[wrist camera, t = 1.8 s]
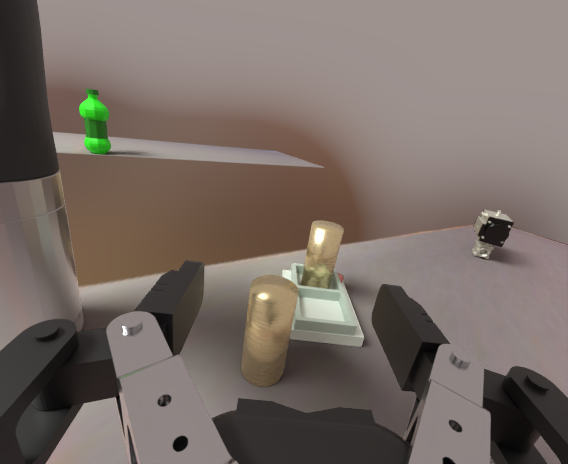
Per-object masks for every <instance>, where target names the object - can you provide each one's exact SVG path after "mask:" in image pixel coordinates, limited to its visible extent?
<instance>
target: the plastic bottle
mask: <svg viewBox="0 0 568 464" xmlns="http://www.w3.org/2000/svg"><path fill="white" fill-rule="evenodd" d="M86 93H87V94H88V99H87V100H85V101H84V102H83V103H82V104H81V105H80V107H79V111H80V114H81V116H82V117H83V118H84V121H85V129H86V138H85V141H84V143H85V146H86V148H87V149H88V150H89V151H91V152H92V153H95V154H106V152H108V151H109V150H110V148H111V144H110V141H109V140H108V136H107V126H106V121H107V119H108V118H109V112H108V110H107V108H106V107H105V106H104V105H103V104H102V103H101V102H100V101H99V100H98V99H97V95H99V94H98V90H92V89H86Z"/></svg>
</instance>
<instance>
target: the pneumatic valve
mask: <svg viewBox="0 0 568 464" xmlns="http://www.w3.org/2000/svg"><path fill="white" fill-rule="evenodd" d="M512 225H513V221H512V220H511V219H510V218H509V217H508V216H507V215H506V214H503V213H501V211H499V210H498V211H497V212H494V211H490V210H485V209H484V210H483V212H481V216H478V217H477V219H476V221H475V224H474V226H473V227H474V229H475V230H474V232H475V234H476V236H477V238H478V240H476V241H475V242H476V244H475V245H474V248H473V249H472V253H473V255H474V256H479V257H484V258H485V259H489V255H490V253H491V250H493V249H494V248H493V246H492V245H495V246H499V247H502V246H503V244H504V242H505V240H506V239H507V238H508V236H509V232H510V230H511V228H512ZM491 244H492V245H491Z"/></svg>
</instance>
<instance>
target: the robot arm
mask: <svg viewBox="0 0 568 464" xmlns="http://www.w3.org/2000/svg"><path fill="white" fill-rule="evenodd" d="M203 290H204V263H203V262H195V261H187V260H186V261H185V262H184V264H183V265H182V266H181V268H180V269H179V271H175V270H171V271H169V272H167V273H166V274H164V275H162V276H161V277H160V279H159V280H158V281H157V282H156V285H154V286H153V288H152V289H151V291H149V293H148V294H147V295H146V296H145V298H144V299H143V300H142V302H141V303H140V304H139V305H138V307H137V308H136V309H135V311H134V312H129V313H126V314H123V315H120V316H119V317H117V318H115V319H114V320H113V321H111V322H110V324H109V325H108V327H107V328H103V329H95V330H87V331H81V330H82V327H83V323H84V319H83V313H82V306H81V300H80V294H79V287H78V281H77V275H76V269H75V262H74V256H73V250H72V244H71V238H70V232H69V225H68V219H67V213H66V207H65V201H64V196H63V189H62V183H61V177H60V171H59V164H58V159H57V153H56V148H55V143H54V138H53V133H52V127H51V121H50V114H49V108H48V99H47V90H46V81H45V71H44V60H43V49H42V39H41V28H40V21H39V12H38V5H37V0H0V464H45V463H46V462H47V460H48V459H49V457H50V456H51V454H52V452H53V451H54V449H55V448H56V446H57V445H58V443H59V441H60V440H61V438H62V437H63V435H64V434H65V432H66V430H67V429H68V427H69V426H70V424H71V423H72V421H73V419H74V418H75V416H76V415H77V413H78V412H79V410H80V408H81V407H82V405H83V404H84V403H87V402H92V401H97V400H102V399H107V398H112V397H115V401H116V406H117V411H118V415H119V420H120V425H121V429H122V434H123V439H124V443H125V448H126V454H127V460H128V464H490V455H491V457H492V459H493V461H494V462H495V464H547V463H546V461H545V460H544V459H543V457H542V456H541V454H540V453H539V452H538V450H537V449H536V448H535V446H534V443H535V442H536V441H537V439H538V438H539V437H540V435H541V436H542V437H543V439H544V440H545V441H546V443H547V444H548V445H549V446H550V448H551V449H552V450H553V452H554V453H555V454H556V455H557V457H558V458H559V460H560V462H561V464H568V398H567V397H566V396H565V395H564V394H563V393H562V392H561V391H560V390H559V389H558V388H557V387H556V386H555V385H554V384H553V383H552V382H551V381H549V380H548V379H546V378H545V377H543V376H542V375H540V374H538V373H536V372H534V371H532V370H530V369H527V368H524V367H518V366H515V367H512V368H511V369H510V370H509V372H508V374H507V375H506V376H504V375H501V374H498V373H495V372H492V371H489V370H486V369H484V368H483V366H482V364H481V363H480V361H479V360H478V359H477V358H476V357H475V356H474V355H472V354H471V353H470V352H468V351H467V350H465V349H463V348H461V347H458V346H456V345H452V344H450V343H449V342H448V340H447V339H446V338H445V336H444V335H443V334H442V332H441V331H440V330H439V328H438V327H437V326H436V324H435V323H433V321H432V319H431V318H430V317H429V316H428V314H427V313H426V311H425V310H424V309H423V307H422V306H421V305H419V304H418V303H417V302H416V301H414V300H413V299H412V298H409V297H408V295H407V294H406V293H405V291H404V290H403V288H402V287H401V286H396V285H388V284H383V285H381V287H380V290H379V293H378V296H377V299H376V302H375V306H374V309H373V312H372V324H373V327H374V329H375V332H376V334H377V336H378V338H379V341H380V343H381V345H382V347H383V349H384V352H385V354H386V356H387V358H388V361H389V363H390V365H391V367H392V369H393V372H394V374H395V376H396V378H397V381H398V383H399V385H400V387H401V389H402V391H412V392H415V393H416V395H417V396H416V399H415V401H414V403H413V407H412V410H411V413H410V416H409V419H408V422H407V425H406V428H405V431H404V434H403V438H401V437H400V436H398V435H397V434H395V433H394V432H392V431H390V430H389V429H387V428H385V427H383V426H381V425H379V424H376V423H375V421H374V418H373V415H372V411H371V410H362V409H351V408H340V407H339V408H334V409H328V410H323V411H317V412H312V413H304V412H301V411H298V410H295V409H292V408H289V407H286V406H284V405H281V404H278V403H275V402H272V401H262V400H251V399H240V398H238V404H237V410H234V411H229V412H226V413H223V414H220V415H218V416H216V417H214V418H212V419H211V417H210V415H209V413H208V411H207V409H206V407H205V404H204V402H203V400H202V398H201V396H200V394H199V392H198V390H197V388H196V386H195V384H194V382H193V380H192V378H191V376H190V374H189V372H188V370H187V368H186V366H185V364H184V362H183V360H182V358H181V356H180V355H179V354H180V352H181V350H182V347H183V345H184V343H185V341H186V338H187V336H188V334H189V332H190V329H191V327H192V325H193V323H194V320H195V318H196V316H197V313H198V311H199V309H200V307H201V303H202V299H203Z"/></svg>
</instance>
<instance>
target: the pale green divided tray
mask: <svg viewBox="0 0 568 464" xmlns="http://www.w3.org/2000/svg"><path fill="white" fill-rule="evenodd" d="M303 268H304V264H296V263H292V266H291V271H289V270H283V273H282V277H284V278H286V279H289V280H290V281H292V282H293V283H294V284H295V285H296V286H297V287H298V290H299V293H298V299H297V304H296V309H295V314H294V319H293V324H292V330H291V335H290V339H293V340H302V341H311V342H320V343H329V344H339V345H348V346H357V347H361V346H362V343H363V340H364V335H363V333H362V330H361V327H360V325H359V322H358V319H357V317H356V314H355V311H354V309H353V306H352V303H351V301H350V298H349V296H348V293H347V290H346V288H345V285H344V282H343V278H344V277H343V275H341V274H339V273H337V270H336V268H334V272H333V276H332V280H331V284H330V288H329V289H324V288H316V287H308V286H301V278H302V273H303Z"/></svg>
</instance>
